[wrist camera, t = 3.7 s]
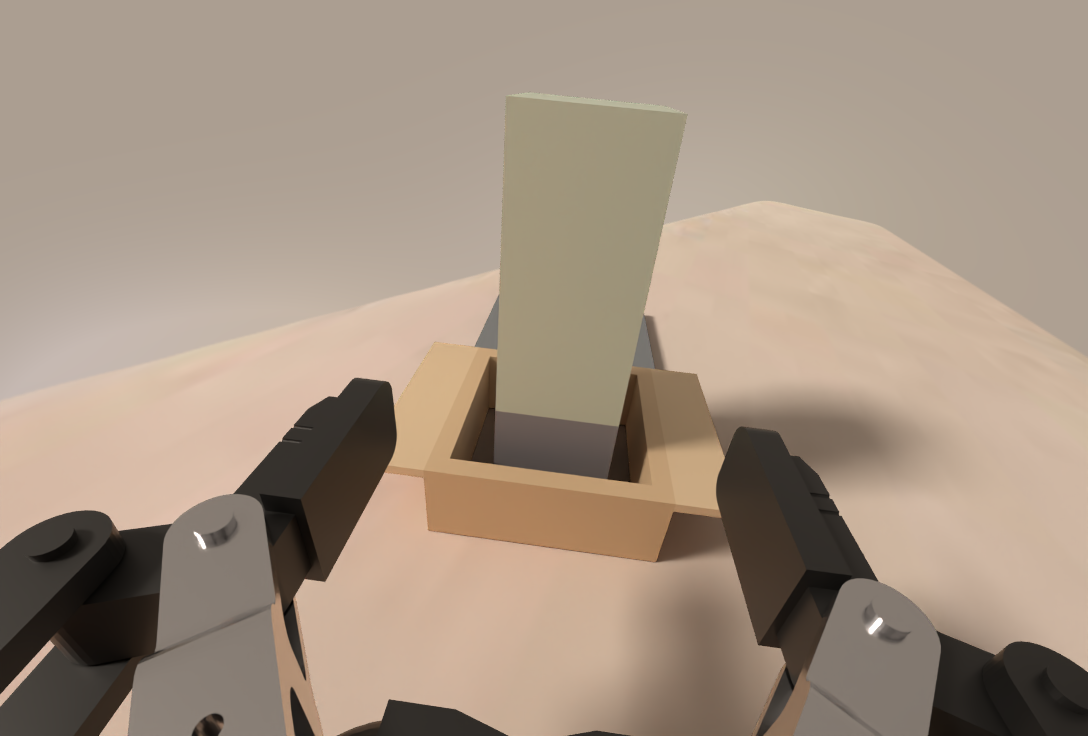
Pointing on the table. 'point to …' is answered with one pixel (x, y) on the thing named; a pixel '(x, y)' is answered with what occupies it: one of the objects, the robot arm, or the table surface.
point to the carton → (547, 497)
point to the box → (575, 271)
